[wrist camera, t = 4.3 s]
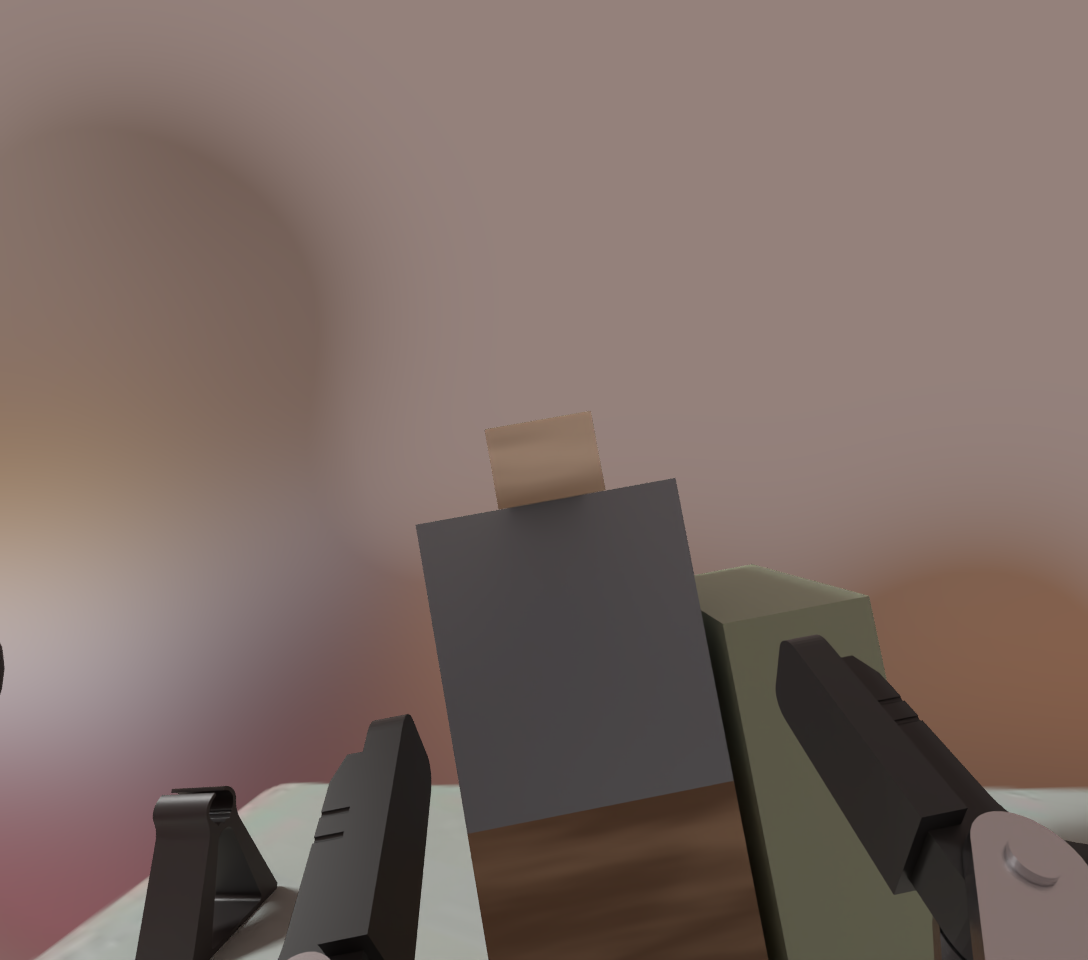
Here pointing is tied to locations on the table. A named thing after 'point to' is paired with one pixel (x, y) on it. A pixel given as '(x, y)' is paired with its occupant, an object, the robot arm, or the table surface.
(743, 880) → the walnut crate
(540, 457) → the birch slat
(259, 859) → the phone stand
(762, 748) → the olive box
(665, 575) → the block
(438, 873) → the table surface
